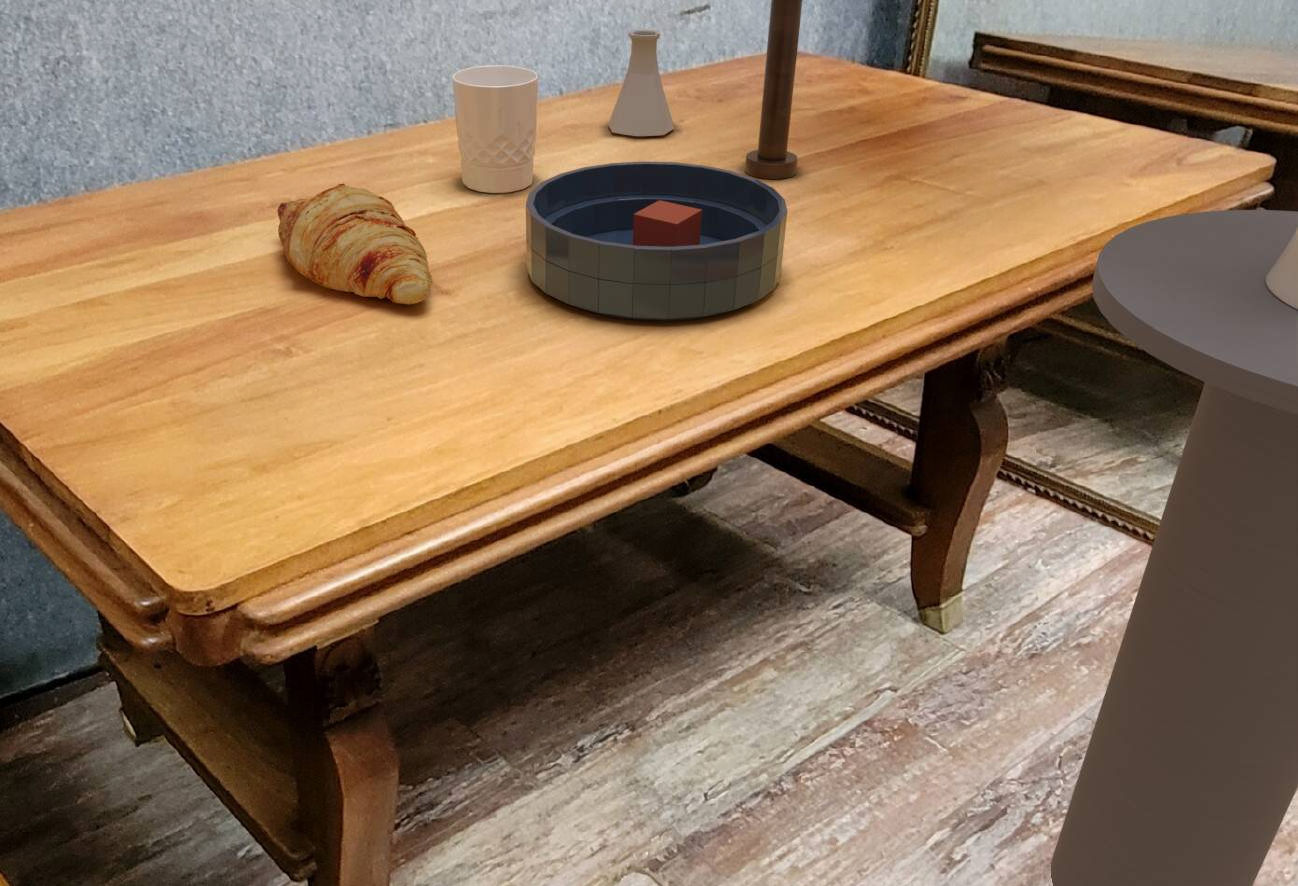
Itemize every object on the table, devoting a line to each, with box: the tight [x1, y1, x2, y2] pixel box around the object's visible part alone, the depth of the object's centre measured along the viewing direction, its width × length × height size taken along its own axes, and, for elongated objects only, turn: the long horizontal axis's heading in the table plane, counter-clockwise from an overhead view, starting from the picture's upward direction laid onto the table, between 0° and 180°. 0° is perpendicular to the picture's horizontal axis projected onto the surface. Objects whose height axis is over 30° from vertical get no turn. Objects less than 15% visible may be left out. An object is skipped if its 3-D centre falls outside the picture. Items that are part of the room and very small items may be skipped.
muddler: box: [744, 0, 803, 180], centre depth 117 cm, size 5×5×18 cm
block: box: [633, 200, 702, 247], centre depth 100 cm, size 4×4×4 cm
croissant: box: [277, 183, 433, 305], centre depth 99 cm, size 21×10×8 cm, turn 40°
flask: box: [607, 28, 675, 137], centre depth 131 cm, size 7×7×10 cm
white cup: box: [451, 64, 539, 194], centre depth 116 cm, size 8×8×10 cm
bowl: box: [525, 160, 788, 322], centre depth 98 cm, size 20×20×6 cm
